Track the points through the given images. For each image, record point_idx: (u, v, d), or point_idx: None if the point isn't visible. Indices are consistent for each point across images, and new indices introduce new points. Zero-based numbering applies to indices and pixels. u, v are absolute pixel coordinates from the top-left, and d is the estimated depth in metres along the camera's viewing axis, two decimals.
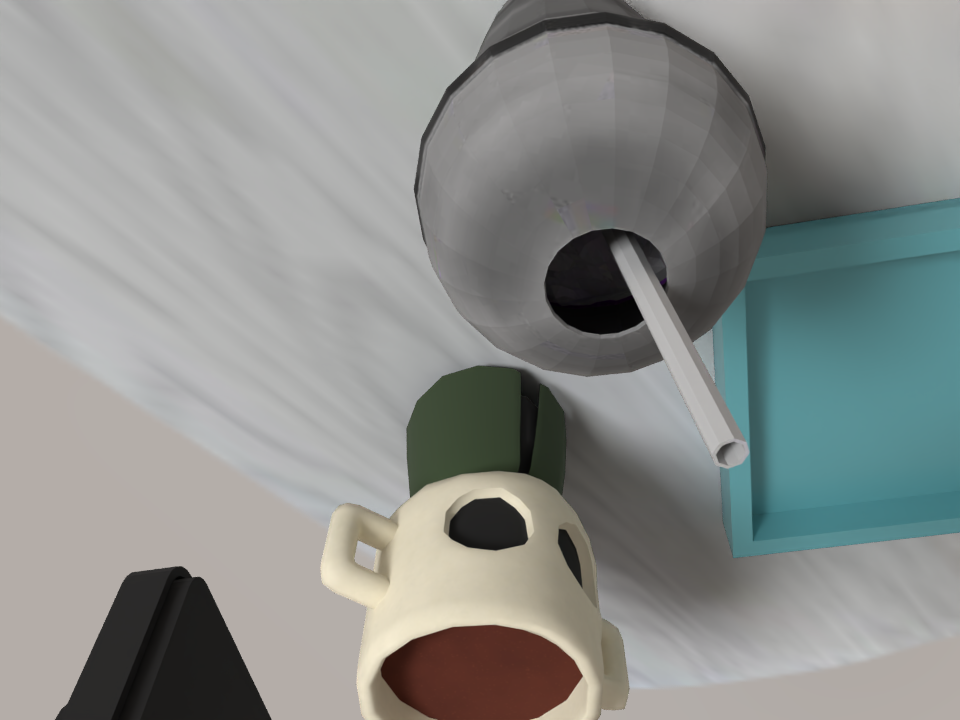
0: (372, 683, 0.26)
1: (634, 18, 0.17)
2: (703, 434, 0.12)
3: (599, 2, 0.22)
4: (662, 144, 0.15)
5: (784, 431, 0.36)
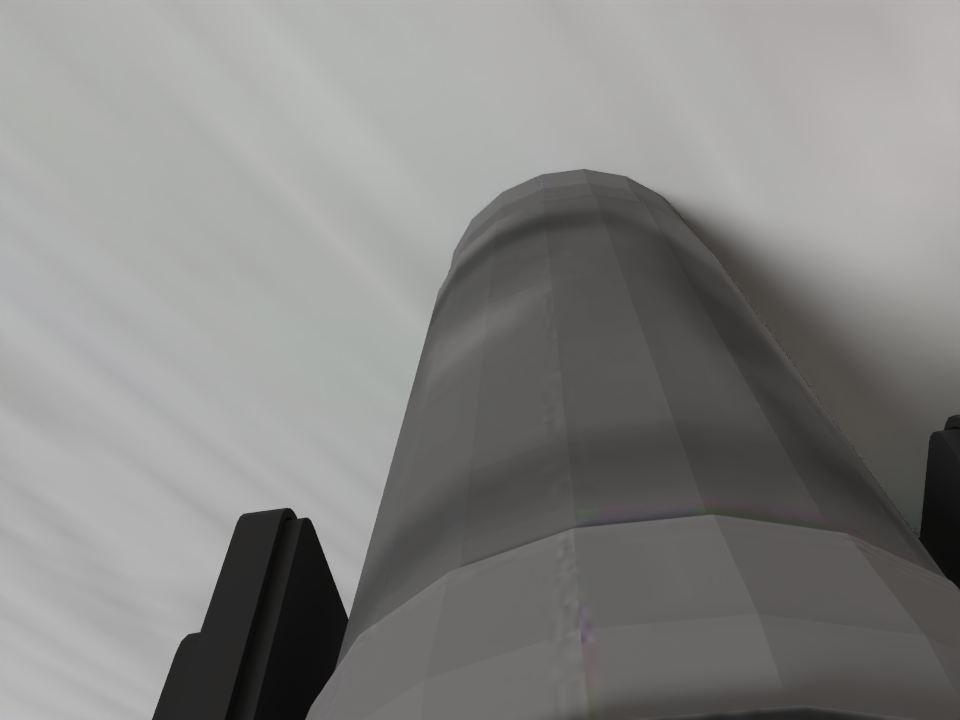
0: None
1: None
2: None
3: (685, 349, 0.09)
4: None
5: None
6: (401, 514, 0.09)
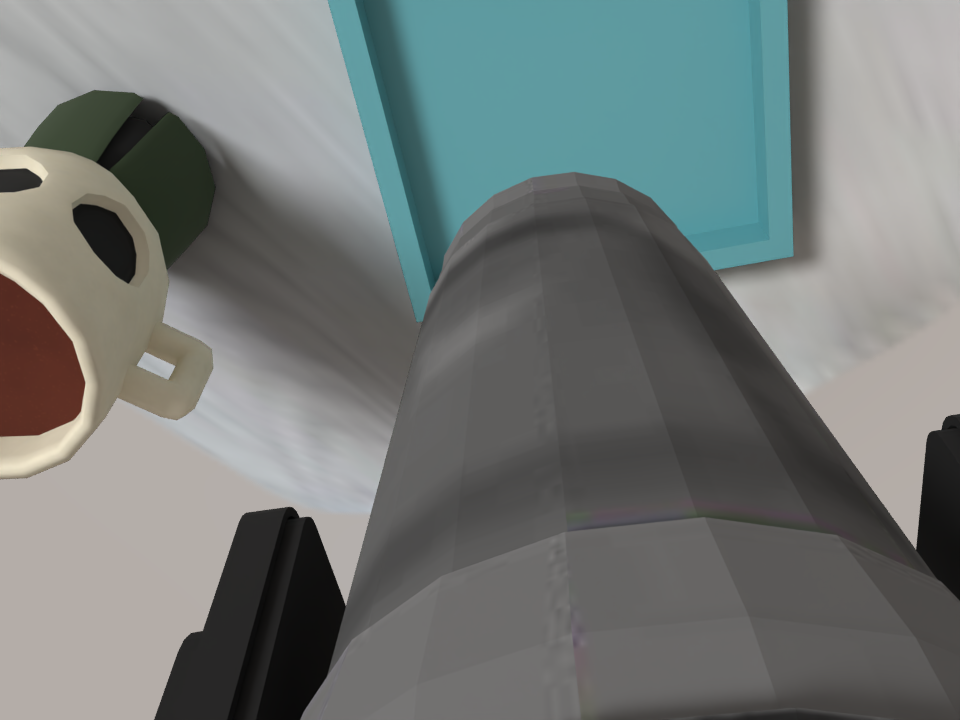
0: None
1: None
2: None
3: (675, 352, 0.09)
4: None
5: (453, 167, 0.32)
6: (393, 518, 0.09)
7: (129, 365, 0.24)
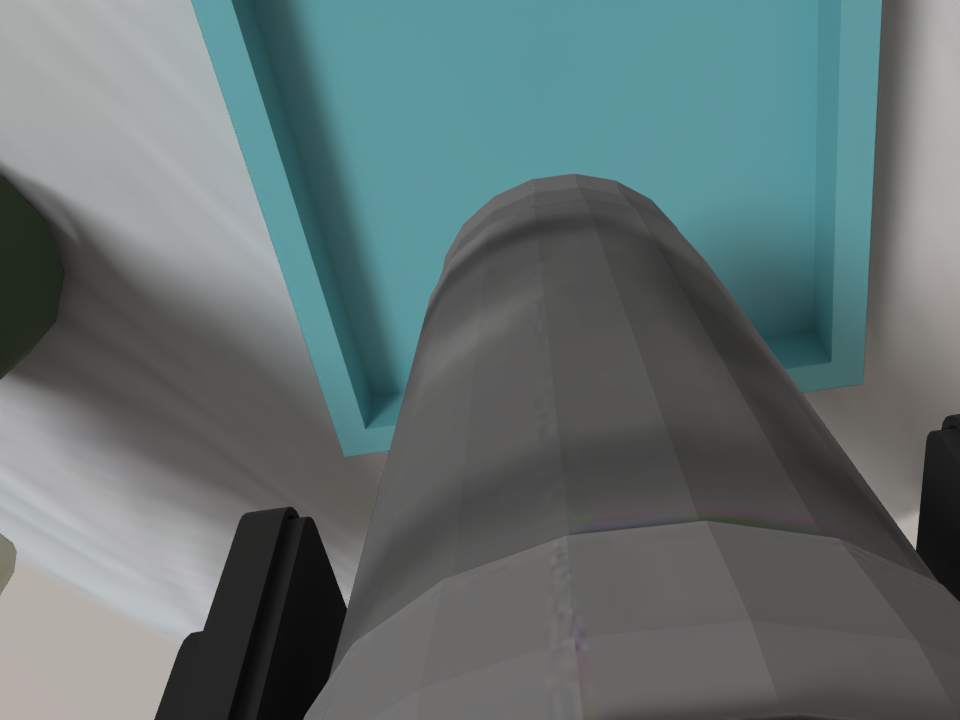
0: None
1: None
2: None
3: (677, 354, 0.09)
4: None
5: (394, 252, 0.23)
6: (394, 521, 0.09)
7: None
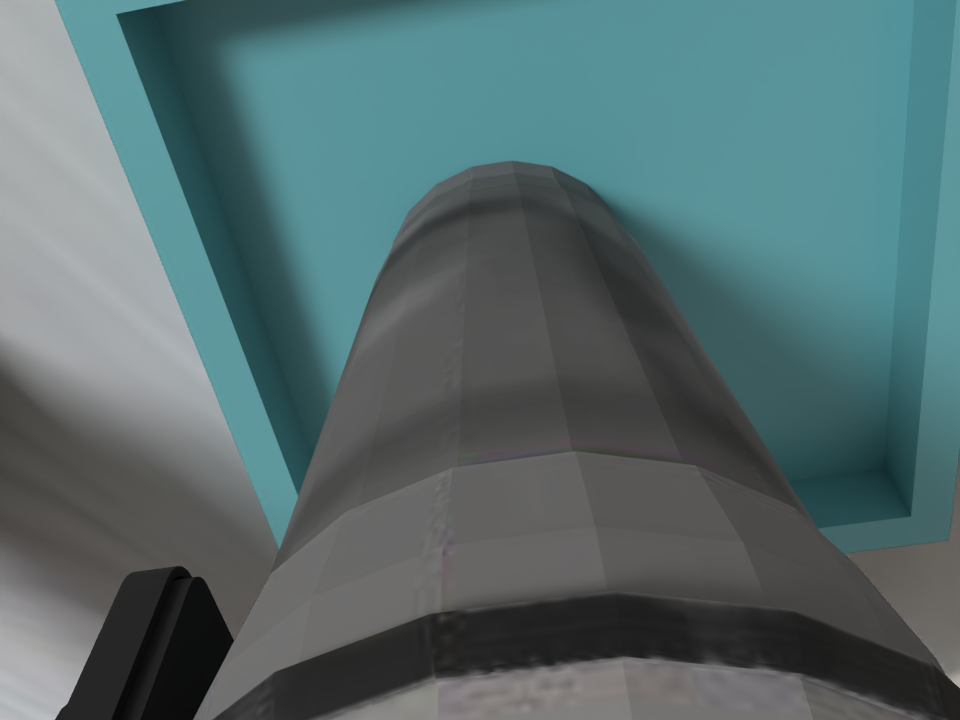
0: None
1: (705, 606, 0.06)
2: None
3: (579, 317, 0.10)
4: None
5: None
6: (318, 472, 0.10)
7: None
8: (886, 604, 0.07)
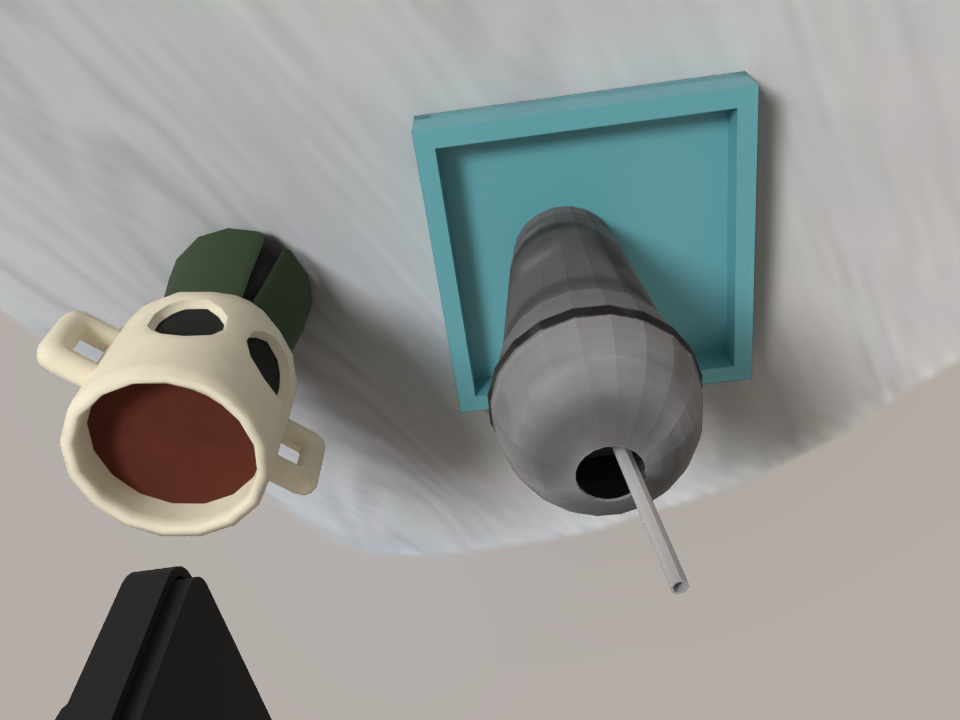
0: (73, 442, 0.31)
1: (626, 308, 0.29)
2: (666, 575, 0.24)
3: (599, 261, 0.34)
4: (643, 397, 0.27)
5: (498, 298, 0.42)
6: (522, 301, 0.33)
7: None
8: None
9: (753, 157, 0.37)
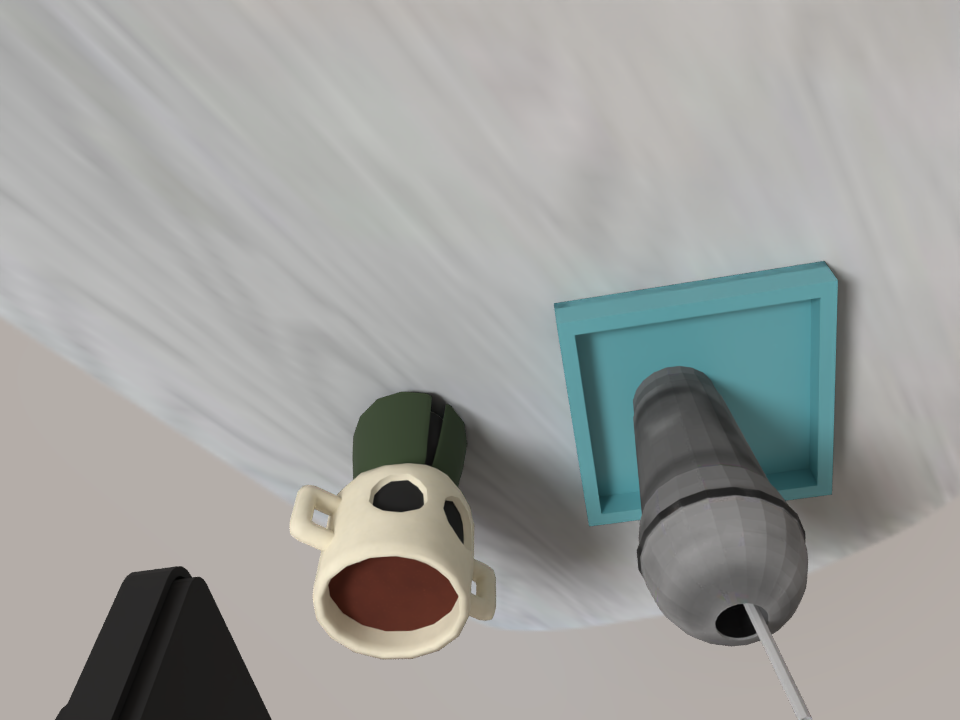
0: (322, 597, 0.41)
1: (746, 489, 0.38)
2: (794, 711, 0.33)
3: (715, 432, 0.43)
4: (765, 565, 0.36)
5: (619, 435, 0.51)
6: (656, 468, 0.42)
7: None
8: (779, 494, 0.40)
9: (833, 332, 0.46)
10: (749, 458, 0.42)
